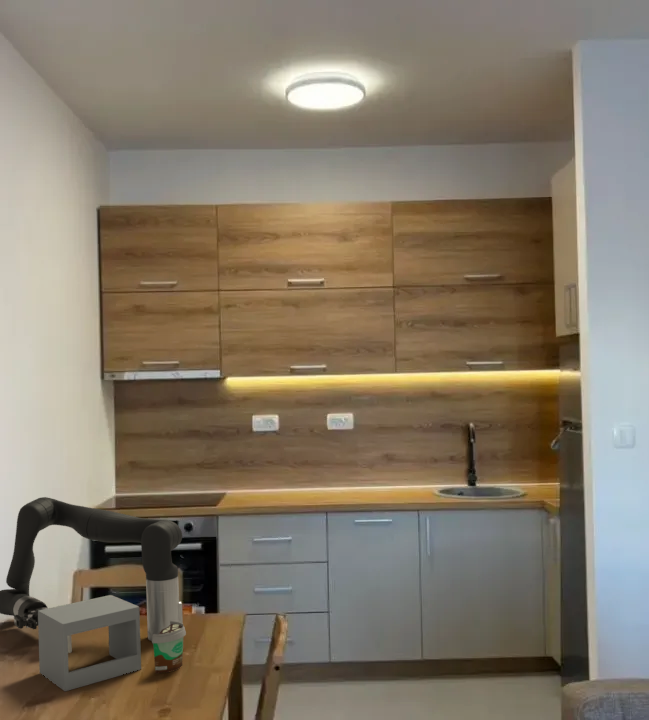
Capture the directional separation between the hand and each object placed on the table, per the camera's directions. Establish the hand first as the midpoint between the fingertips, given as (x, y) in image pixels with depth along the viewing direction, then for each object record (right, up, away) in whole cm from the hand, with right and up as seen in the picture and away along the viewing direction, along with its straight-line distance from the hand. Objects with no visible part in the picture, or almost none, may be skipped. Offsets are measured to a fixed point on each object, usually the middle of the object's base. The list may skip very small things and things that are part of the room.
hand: (50, 622), depth 221 cm
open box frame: (+18, -6, -21) cm, 28 cm away
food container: (+39, -5, -20) cm, 44 cm away
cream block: (+4, -7, -5) cm, 9 cm away
